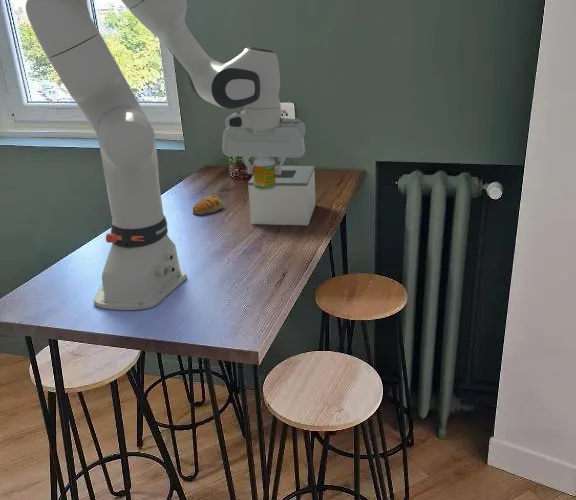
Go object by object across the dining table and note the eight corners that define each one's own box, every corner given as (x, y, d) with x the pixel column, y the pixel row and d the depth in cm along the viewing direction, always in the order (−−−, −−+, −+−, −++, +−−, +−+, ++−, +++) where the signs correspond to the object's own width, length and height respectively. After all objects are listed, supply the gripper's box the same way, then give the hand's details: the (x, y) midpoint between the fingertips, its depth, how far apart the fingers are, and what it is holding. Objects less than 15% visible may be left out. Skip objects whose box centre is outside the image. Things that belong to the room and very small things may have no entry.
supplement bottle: (267, 192, 148) (266, 154, 144) (250, 189, 151) (248, 151, 147) (279, 187, 152) (278, 149, 148) (262, 184, 155) (261, 146, 151)
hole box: (308, 225, 164) (307, 183, 159) (251, 224, 167) (248, 182, 162) (315, 205, 178) (314, 165, 174) (262, 204, 181) (260, 165, 176)
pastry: (203, 218, 173) (202, 205, 172) (187, 214, 177) (185, 201, 175) (225, 208, 180) (224, 196, 179) (209, 204, 184) (207, 192, 182)
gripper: (307, 116, 146) (307, 171, 151) (225, 114, 149) (228, 169, 155) (303, 121, 140) (303, 178, 146) (218, 120, 143) (222, 176, 149)
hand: (264, 173), depth 150 cm, fingers closed on supplement bottle, 5 cm apart
